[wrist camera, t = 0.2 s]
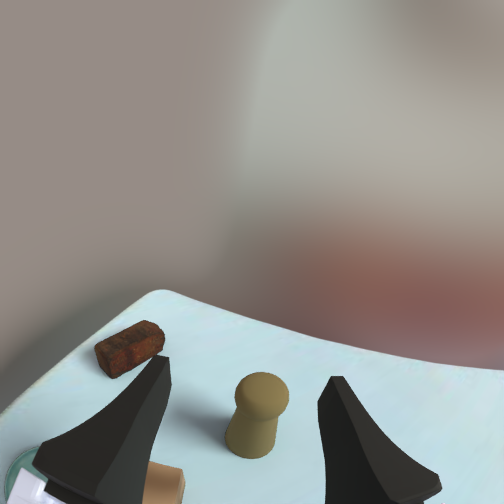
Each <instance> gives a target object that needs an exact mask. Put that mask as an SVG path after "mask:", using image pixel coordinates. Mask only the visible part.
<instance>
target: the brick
mask: <svg viewBox="0 0 504 504" xmlns="http://www.w3.org/2000/svg"><path fill="white" fill-rule="evenodd" d="M164 342H165V334H164V332H163V331H162V329H160V328H159V326H158V325H157V324H155V323H152V322H149V321H146V320H143V321H140V322H138V323H136V324H134V325H133V326H131V327H129V328H127V329H124V330H123V331H121V332H119V333H117V334H115V335H113V336H110V337H109V338H107V339H105V340H103V341H101V342H99V343H97V344H96V345H95V348H94V349H95V352H96V356H97V359H98V362H99V365H100V367H101V368H102V369H103V370H104V371H105V372H106V373H107V374H108V375H109V377H111V378H112V379H115V378H118V377H119V376H121V375H122V374H124V373H126V372H128V371H130V370H132V369H133V368H135V367H137V366H138V365H140V364H142V363H143V362H145V361H146V360H148V359H150V358H151V357H153V356H154V355H156V354H157V353H159V352H161V351H162V350H163V345H164Z"/></svg>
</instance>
